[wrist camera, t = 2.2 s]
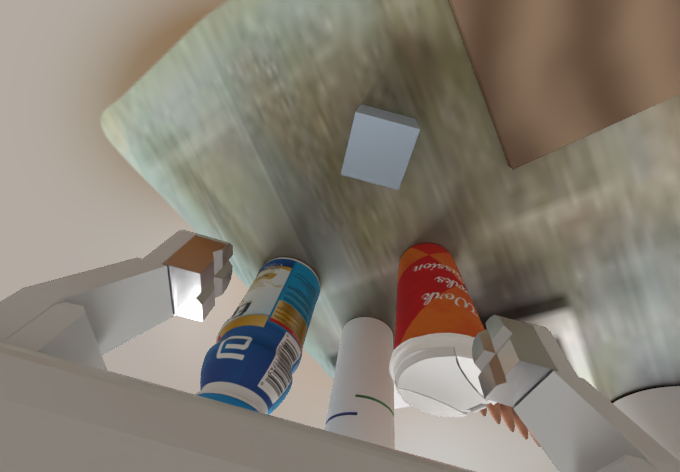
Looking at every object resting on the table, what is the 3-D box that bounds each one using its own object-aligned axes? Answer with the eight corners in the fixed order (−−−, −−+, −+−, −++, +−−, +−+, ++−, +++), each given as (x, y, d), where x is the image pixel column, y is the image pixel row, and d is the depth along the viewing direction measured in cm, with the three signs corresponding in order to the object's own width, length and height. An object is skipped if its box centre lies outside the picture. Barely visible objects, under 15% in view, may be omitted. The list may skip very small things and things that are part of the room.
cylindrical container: (335, 320, 40) (273, 611, 19) (385, 313, 38) (380, 630, 17) (351, 354, 43) (313, 636, 22) (398, 349, 41) (407, 655, 20)
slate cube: (415, 118, 26) (420, 129, 21) (397, 171, 28) (398, 190, 24) (361, 103, 26) (355, 111, 21) (348, 157, 28) (340, 174, 24)
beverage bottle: (313, 312, 40) (256, 497, 23) (254, 293, 40) (153, 465, 23) (330, 267, 35) (275, 454, 18) (264, 244, 35) (147, 413, 18)
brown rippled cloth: (745, -261, 15) (767, -281, 14) (748, 55, 20) (764, 55, 20) (438, -26, 21) (440, -30, 20) (508, 166, 26) (512, 169, 26)
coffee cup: (480, 263, 32) (539, 395, 19) (424, 302, 36) (443, 432, 23) (426, 218, 30) (452, 330, 18) (373, 264, 34) (364, 382, 21)
